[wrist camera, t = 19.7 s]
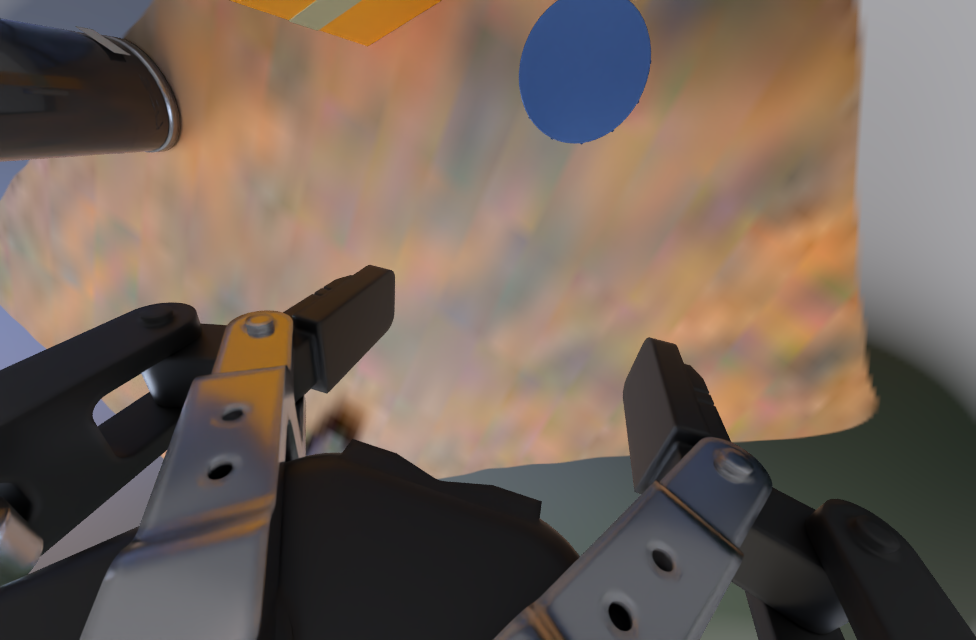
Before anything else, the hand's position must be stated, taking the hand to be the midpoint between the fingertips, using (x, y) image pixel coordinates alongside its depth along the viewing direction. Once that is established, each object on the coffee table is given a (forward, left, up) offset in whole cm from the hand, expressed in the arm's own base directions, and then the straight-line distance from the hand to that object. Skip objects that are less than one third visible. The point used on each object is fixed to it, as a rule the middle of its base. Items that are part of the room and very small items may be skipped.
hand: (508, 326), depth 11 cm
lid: (0, +8, -11) cm, 13 cm away
